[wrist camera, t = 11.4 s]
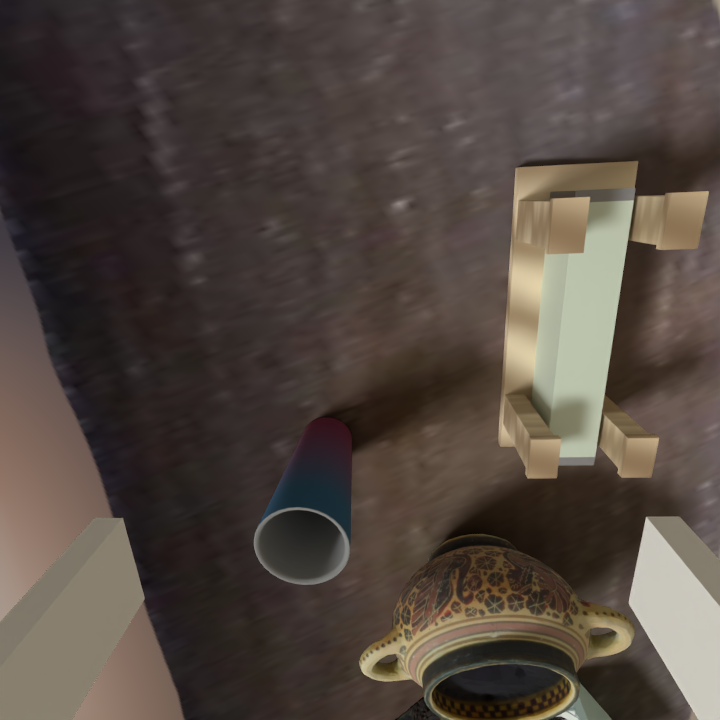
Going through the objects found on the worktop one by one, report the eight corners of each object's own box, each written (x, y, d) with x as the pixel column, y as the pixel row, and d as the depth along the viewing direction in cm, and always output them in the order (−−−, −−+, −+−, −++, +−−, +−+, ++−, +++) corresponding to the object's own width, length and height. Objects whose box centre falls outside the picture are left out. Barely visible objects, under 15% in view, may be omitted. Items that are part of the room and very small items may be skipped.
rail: (550, 191, 36) (575, 190, 31) (602, 189, 35) (635, 187, 31) (528, 436, 43) (545, 465, 38) (570, 435, 43) (593, 465, 38)
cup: (343, 399, 44) (323, 494, 30) (371, 455, 46) (366, 569, 32) (282, 423, 45) (235, 525, 31) (312, 476, 47) (281, 595, 33)
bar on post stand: (514, 168, 36) (557, 158, 27) (633, 161, 36) (717, 149, 27) (497, 441, 45) (525, 503, 36) (592, 440, 44) (646, 502, 35)
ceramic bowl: (584, 483, 46) (673, 611, 32) (587, 613, 51) (663, 770, 37) (348, 511, 48) (333, 640, 34) (376, 631, 54) (373, 784, 40)
